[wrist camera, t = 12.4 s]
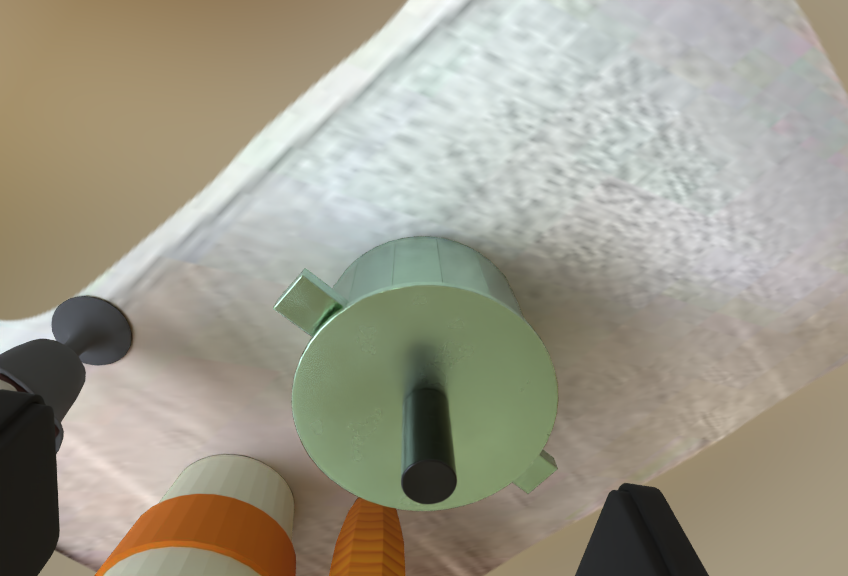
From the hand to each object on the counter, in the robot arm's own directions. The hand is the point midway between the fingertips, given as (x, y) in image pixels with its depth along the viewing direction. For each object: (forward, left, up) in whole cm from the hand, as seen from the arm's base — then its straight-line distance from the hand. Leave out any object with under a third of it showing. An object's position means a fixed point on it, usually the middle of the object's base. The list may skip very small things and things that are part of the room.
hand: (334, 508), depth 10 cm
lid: (+6, +8, -18) cm, 20 cm away
